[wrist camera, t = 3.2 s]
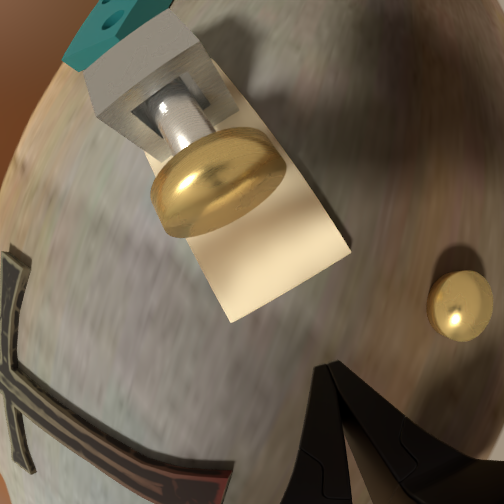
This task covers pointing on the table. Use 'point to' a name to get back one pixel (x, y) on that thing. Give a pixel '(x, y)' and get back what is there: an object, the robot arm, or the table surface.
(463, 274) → the spacer
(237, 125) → the board
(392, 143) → the table surface
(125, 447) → the cross
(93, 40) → the teal saddle bracket
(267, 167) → the shaft
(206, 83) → the bearing block
